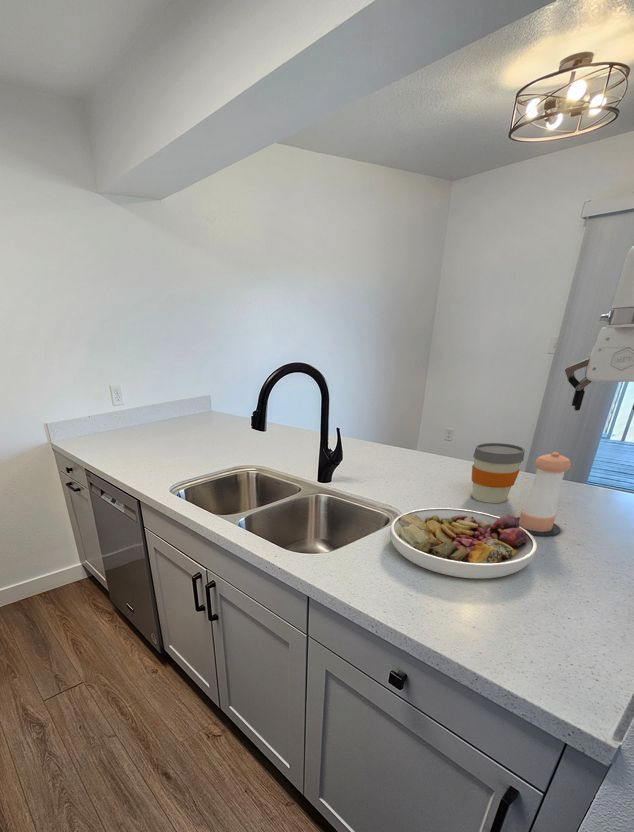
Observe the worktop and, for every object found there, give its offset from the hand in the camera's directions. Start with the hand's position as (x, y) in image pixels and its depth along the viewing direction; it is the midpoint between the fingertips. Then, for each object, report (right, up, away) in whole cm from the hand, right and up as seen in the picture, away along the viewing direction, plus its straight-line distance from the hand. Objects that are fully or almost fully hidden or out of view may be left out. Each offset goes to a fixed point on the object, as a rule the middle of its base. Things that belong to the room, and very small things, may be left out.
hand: (605, 410), depth 90 cm
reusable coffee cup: (0, -14, +41) cm, 43 cm away
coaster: (0, -24, +22) cm, 32 cm away
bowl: (-25, -30, +13) cm, 41 cm away
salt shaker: (0, -23, +21) cm, 32 cm away
